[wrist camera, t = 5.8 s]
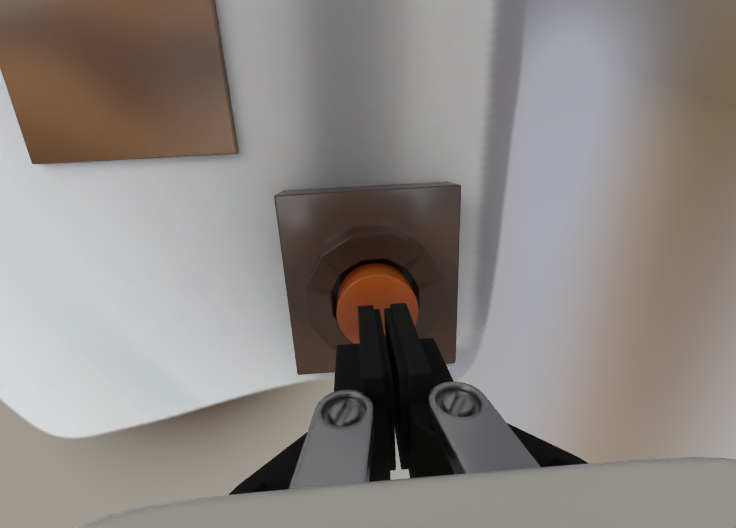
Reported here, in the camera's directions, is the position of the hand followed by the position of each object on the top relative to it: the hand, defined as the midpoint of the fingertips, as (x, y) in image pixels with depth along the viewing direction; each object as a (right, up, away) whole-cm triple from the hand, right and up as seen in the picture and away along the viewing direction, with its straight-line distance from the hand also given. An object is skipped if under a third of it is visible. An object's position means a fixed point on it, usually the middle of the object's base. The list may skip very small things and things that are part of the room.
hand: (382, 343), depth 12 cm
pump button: (0, +1, +5) cm, 5 cm away
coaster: (-12, +13, +4) cm, 18 cm away
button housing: (0, +2, +8) cm, 9 cm away
